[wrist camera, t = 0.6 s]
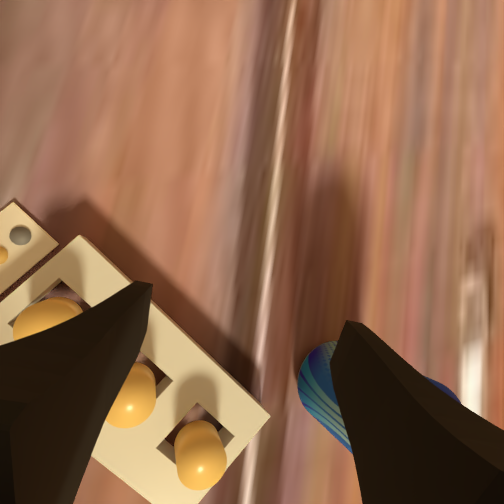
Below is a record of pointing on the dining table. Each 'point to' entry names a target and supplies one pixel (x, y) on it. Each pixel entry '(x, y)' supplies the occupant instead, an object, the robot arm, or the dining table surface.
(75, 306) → the button
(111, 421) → the button
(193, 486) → the button
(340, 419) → the beer can
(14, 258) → the card
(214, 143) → the dining table surface
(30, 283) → the board
